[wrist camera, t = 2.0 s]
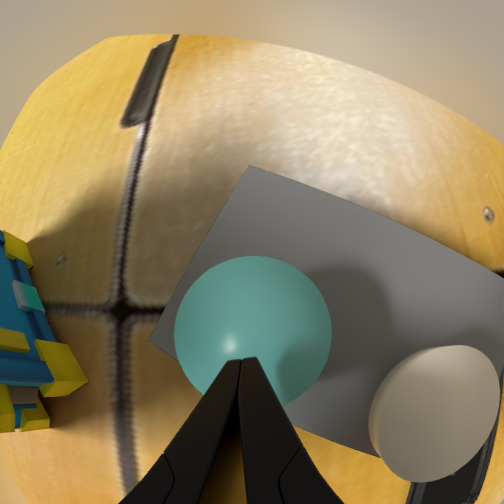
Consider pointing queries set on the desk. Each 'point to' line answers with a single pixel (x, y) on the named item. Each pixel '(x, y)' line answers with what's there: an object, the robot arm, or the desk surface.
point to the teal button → (254, 324)
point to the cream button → (434, 412)
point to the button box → (352, 293)
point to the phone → (458, 477)
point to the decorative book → (28, 346)
